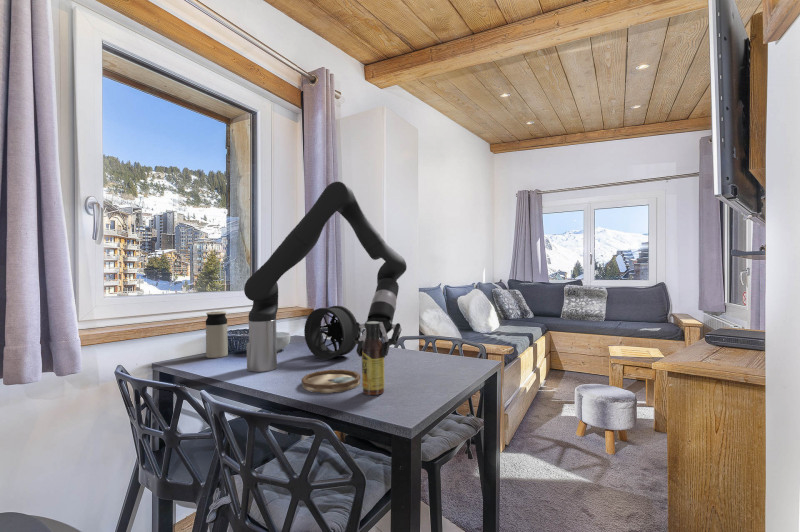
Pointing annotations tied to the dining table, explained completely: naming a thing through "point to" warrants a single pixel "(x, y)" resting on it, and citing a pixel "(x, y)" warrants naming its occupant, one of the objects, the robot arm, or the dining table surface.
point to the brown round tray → (331, 381)
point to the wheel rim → (330, 332)
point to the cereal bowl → (282, 339)
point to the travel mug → (216, 334)
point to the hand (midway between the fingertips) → (371, 355)
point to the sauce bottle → (372, 361)
